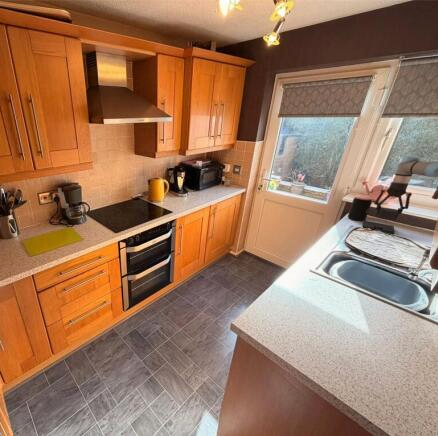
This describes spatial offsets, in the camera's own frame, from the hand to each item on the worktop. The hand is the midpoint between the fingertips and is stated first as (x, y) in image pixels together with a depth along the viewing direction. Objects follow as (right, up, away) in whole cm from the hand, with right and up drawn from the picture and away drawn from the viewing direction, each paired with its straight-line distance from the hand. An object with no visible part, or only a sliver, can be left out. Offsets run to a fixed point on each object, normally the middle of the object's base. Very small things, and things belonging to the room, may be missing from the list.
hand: (386, 216), depth 150 cm
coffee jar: (+8, -2, +30) cm, 31 cm away
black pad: (+1, 0, +1) cm, 2 cm away
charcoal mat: (+8, -8, +13) cm, 18 cm away
